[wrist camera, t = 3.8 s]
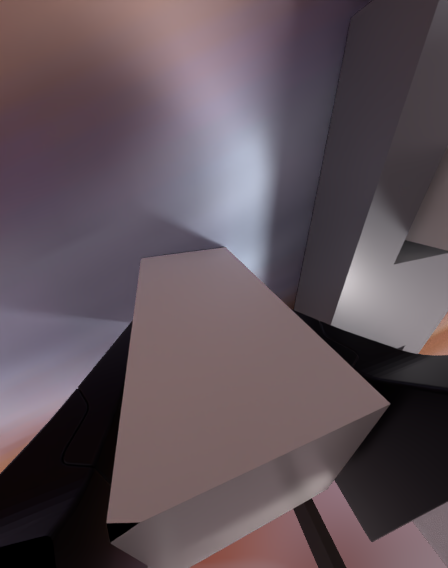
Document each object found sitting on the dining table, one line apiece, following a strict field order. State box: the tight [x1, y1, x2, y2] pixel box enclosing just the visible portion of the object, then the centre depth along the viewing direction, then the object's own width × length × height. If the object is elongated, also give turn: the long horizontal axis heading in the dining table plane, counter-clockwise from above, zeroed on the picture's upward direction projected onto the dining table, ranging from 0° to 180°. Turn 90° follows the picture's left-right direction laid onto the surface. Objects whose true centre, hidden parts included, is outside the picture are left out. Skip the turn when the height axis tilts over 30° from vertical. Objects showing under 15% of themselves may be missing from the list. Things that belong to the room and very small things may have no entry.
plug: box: [106, 247, 390, 568], centre depth 7 cm, size 4×4×8 cm
